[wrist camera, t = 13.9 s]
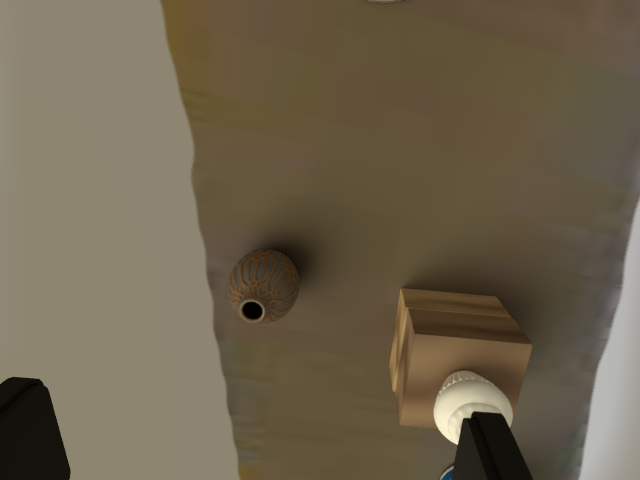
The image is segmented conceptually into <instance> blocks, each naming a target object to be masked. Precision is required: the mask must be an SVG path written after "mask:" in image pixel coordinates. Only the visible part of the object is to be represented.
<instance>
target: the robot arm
mask: <svg viewBox="0 0 640 480" xmlns="http://www.w3.org/2000/svg"><path fill="white" fill-rule="evenodd" d="M368 1H371V2H380V3H390V2H399V1H402V0H368ZM69 479H70V467H69V463H68V460H67V456H66V452H65V448H64V445H63V441H62V438H61V434H60V431H59V426H58V423H57V419H56V416H55V412H54V409H53V404H52V401H51V397H50V394H49V390H48V388H47V387H45V386H44V385H43V383H42V381H41V380H39V379H34V378H20V377H12V378H8V379H7V380H5V381H4V382H2V383H1V384H0V480H69ZM451 480H533V479H532V476H531V474H530V472H529V470H528V467H527V465H526V463H525V461H524V459H523V456H522V454H521V452H520V450H519V448H518V445H517V443H516V441H515V439H514V437H513V434H512V432H511V430H510V428H509V426H508V423H507V421H506V419H505V417H504V416H503V415H502V414H501V413H491V412H478V411H473V413H472V415H471V418H464V419H463V421H462V425H461V431H460V436H459V441H458V446H457V452H456V457H455V462H454V468H453V473H452V478H451Z"/></svg>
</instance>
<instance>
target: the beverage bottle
mask: <svg viewBox="0 0 640 480" xmlns="http://www.w3.org/2000/svg"><path fill="white" fill-rule="evenodd" d="M453 468H454V466H452V467H450V468H449V469H447V470H446V471H445V472H444V473H443V475H442V476H441V478H440V480H451V478H452V473H453Z"/></svg>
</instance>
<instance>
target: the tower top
mask: <svg viewBox="0 0 640 480" xmlns="http://www.w3.org/2000/svg"><path fill="white" fill-rule="evenodd" d="M532 347H533V344H532V343H531V341H530V340H529V339H528V337H527V336H526V334H525V333H524V332H523V330H522V329H521V328H520V326H519V325H518V324H517V322H516V321H515V320H514V318H510V317H499V316H488V315H477V314H466V313H455V312H444V311H433V310H422V309H411V308H408V311H407V318H406V324H405V331H404V337H403V344H402V350H401V357H400V363H399V370H398V376H397V383H396V389H395V395H396V402H397V409H398V415H399V422H400V425H405V426H415V427H424V428H434V429H438V427H437V425H436V423H435V420H434V406H435V403H436V398H437V395H438V393H439V391H440V389H441V387H442V385H443V384H444V382H445V380H446V378H448V376H449V375H451V374H453V373H454V372H457V371H461V370H462V371H465V370H466V371H471V372H474V373H475V374H477V375H479V376H481V377H483V378H485V379H487V380H488V381H490V382H491V383H493V384H494V386H496V387H498V389H499V390H500V391H501V392H502V393H503V394H504V395H505V396H506V397H507V399H508V400H509V402H510V404H511V407H512V412H513V415H514V411H515V408H516V404H517V400H518V397H519V393H520V390H521V386H522V383H523V379H524V375H525V372H526V368H527V365H528V361H529V358H530V354H531V350H532Z"/></svg>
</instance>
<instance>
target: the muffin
mask: <svg viewBox="0 0 640 480" xmlns="http://www.w3.org/2000/svg"><path fill="white" fill-rule="evenodd" d="M473 411H478V412H491V413H501V414H502V415H503V416H504V417H505V419H506V421H507V423H508V426H509V428H510V426H511V423H512V418H513V412H512V407H511V404H510V402H509V400H508V399H507V397H506V396H505V395H504V394H503V393H502V392H501V391H500V390H499V389H498V387H496V386H494V384H493V383H491V382H490V381H488V380H487V379H485V378H483V377H481V376H479V375H477V374H475V373H474V372H471V371H466V370H465V371H462V370H461V371H457V372H454V373H453V374H451V375H449V376H448V378H446V380H445V382H444V384H443V385H442V387H441V389H440V391H439V393H438V395H437V398H436V403H435V406H434V420H435V423H436V425H437V427H438V429H439V430H440V431H441V433H442V434H443V435H444V436H445V437H446V438H447V439H449V440H450V441H451V442H453V443H455V444H457V445H458V441H459V436H460V431H461V425H462V421H463V419H464V418H471V415H472V413H473Z"/></svg>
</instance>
